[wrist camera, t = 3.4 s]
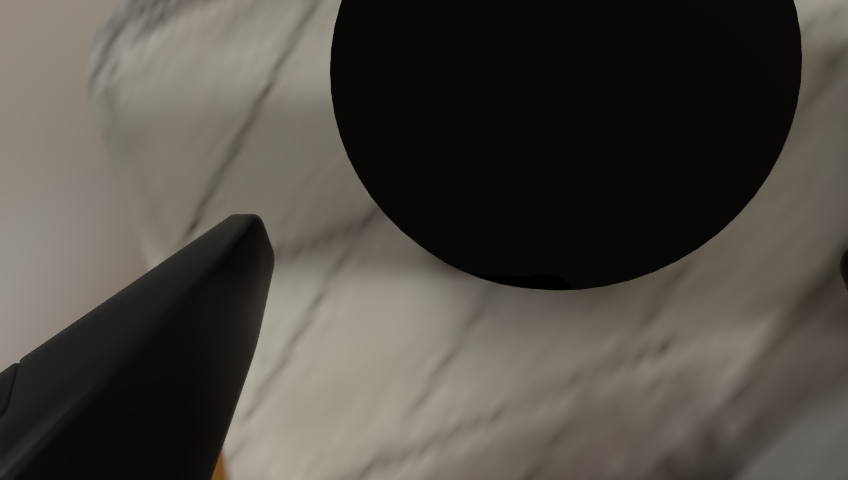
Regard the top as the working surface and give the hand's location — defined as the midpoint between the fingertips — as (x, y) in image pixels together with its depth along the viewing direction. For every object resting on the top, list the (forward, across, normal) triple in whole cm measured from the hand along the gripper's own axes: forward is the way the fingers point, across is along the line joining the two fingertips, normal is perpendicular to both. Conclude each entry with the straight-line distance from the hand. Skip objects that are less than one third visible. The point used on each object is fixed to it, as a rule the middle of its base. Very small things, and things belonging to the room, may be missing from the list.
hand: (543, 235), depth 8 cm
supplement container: (+9, 0, +5) cm, 10 cm away
